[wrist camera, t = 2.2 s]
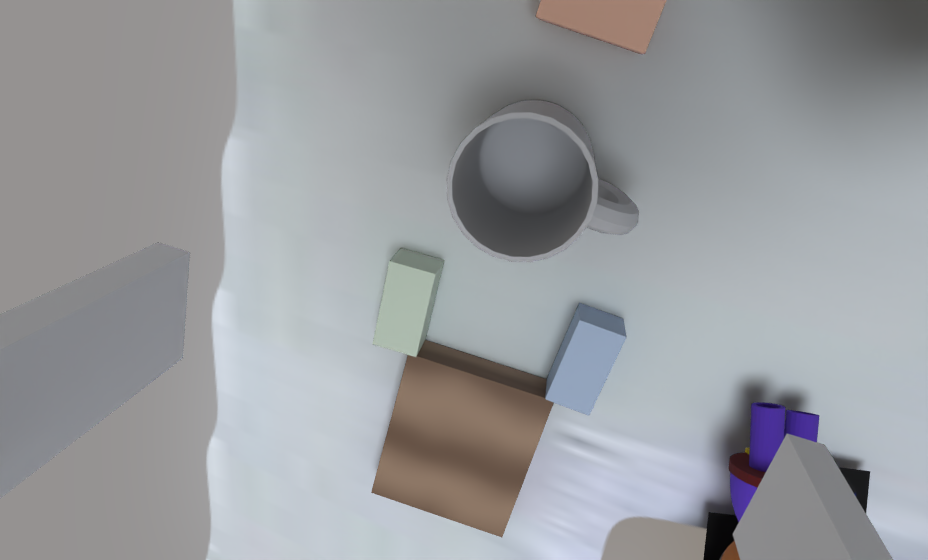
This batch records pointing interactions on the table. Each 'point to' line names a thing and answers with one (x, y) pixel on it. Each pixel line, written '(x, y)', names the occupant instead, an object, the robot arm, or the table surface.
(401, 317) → the brick sage
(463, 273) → the table surface
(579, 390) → the brick blue
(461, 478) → the slab
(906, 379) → the table surface
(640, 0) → the brick terracotta
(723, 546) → the toy
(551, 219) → the cup
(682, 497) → the table surface
